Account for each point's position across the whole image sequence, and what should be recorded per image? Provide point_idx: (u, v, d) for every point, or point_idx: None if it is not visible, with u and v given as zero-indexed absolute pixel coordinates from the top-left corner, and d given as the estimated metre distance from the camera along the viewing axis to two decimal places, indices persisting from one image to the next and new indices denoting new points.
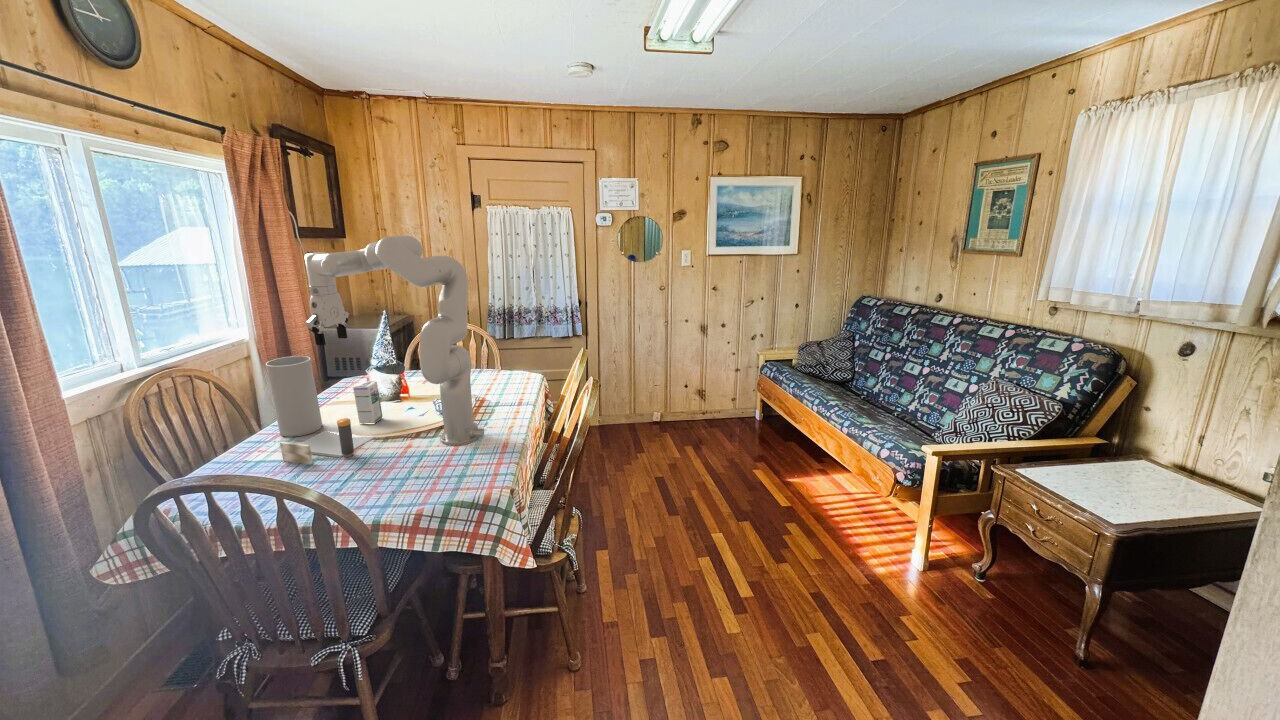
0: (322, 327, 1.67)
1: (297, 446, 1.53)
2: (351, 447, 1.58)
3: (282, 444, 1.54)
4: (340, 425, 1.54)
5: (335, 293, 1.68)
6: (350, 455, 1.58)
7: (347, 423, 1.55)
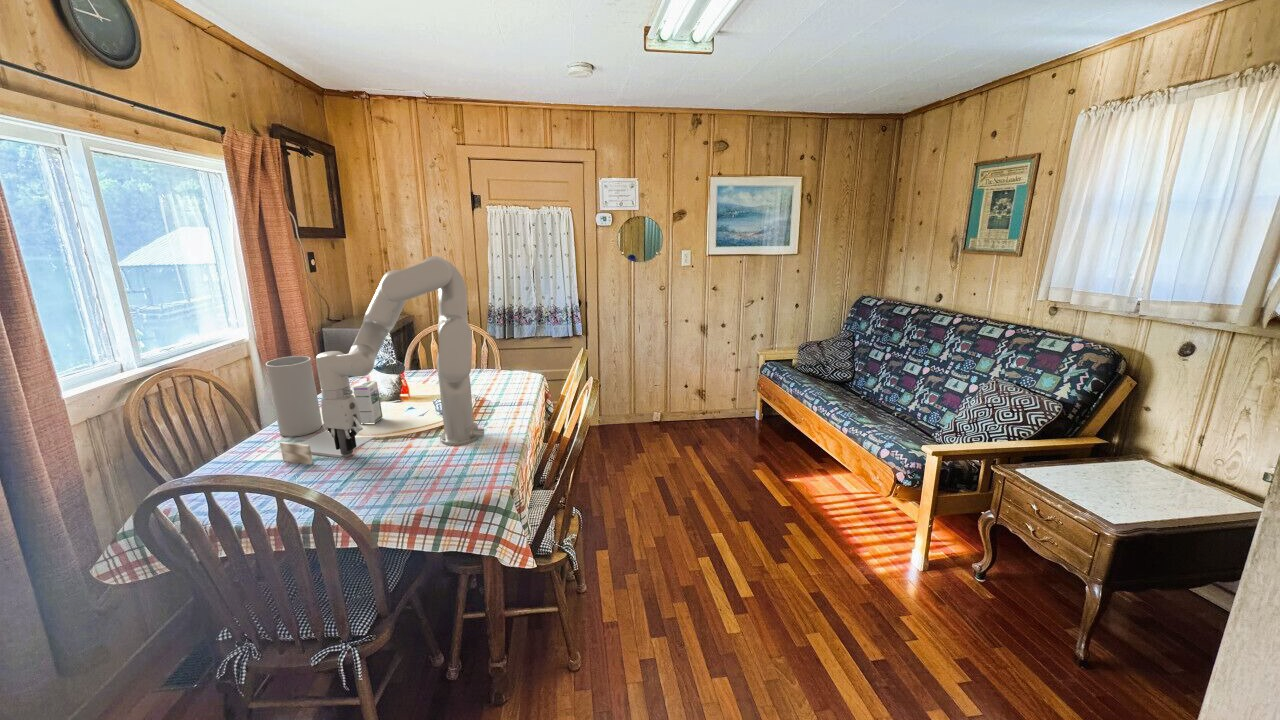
0: None
1: (297, 446, 1.53)
2: None
3: (282, 444, 1.54)
4: None
5: None
6: (349, 455, 1.58)
7: None
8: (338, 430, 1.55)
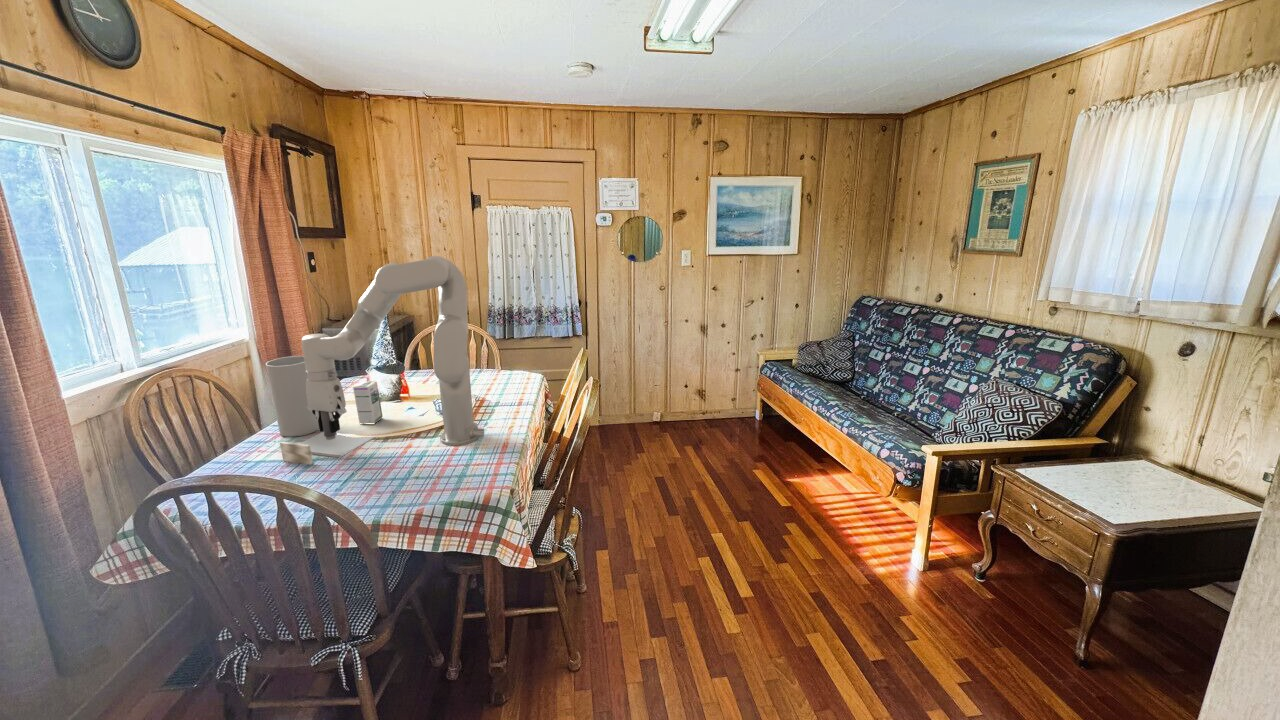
0: None
1: (297, 446, 1.53)
2: None
3: (282, 444, 1.54)
4: None
5: None
6: (332, 437, 1.60)
7: None
8: (322, 412, 1.57)
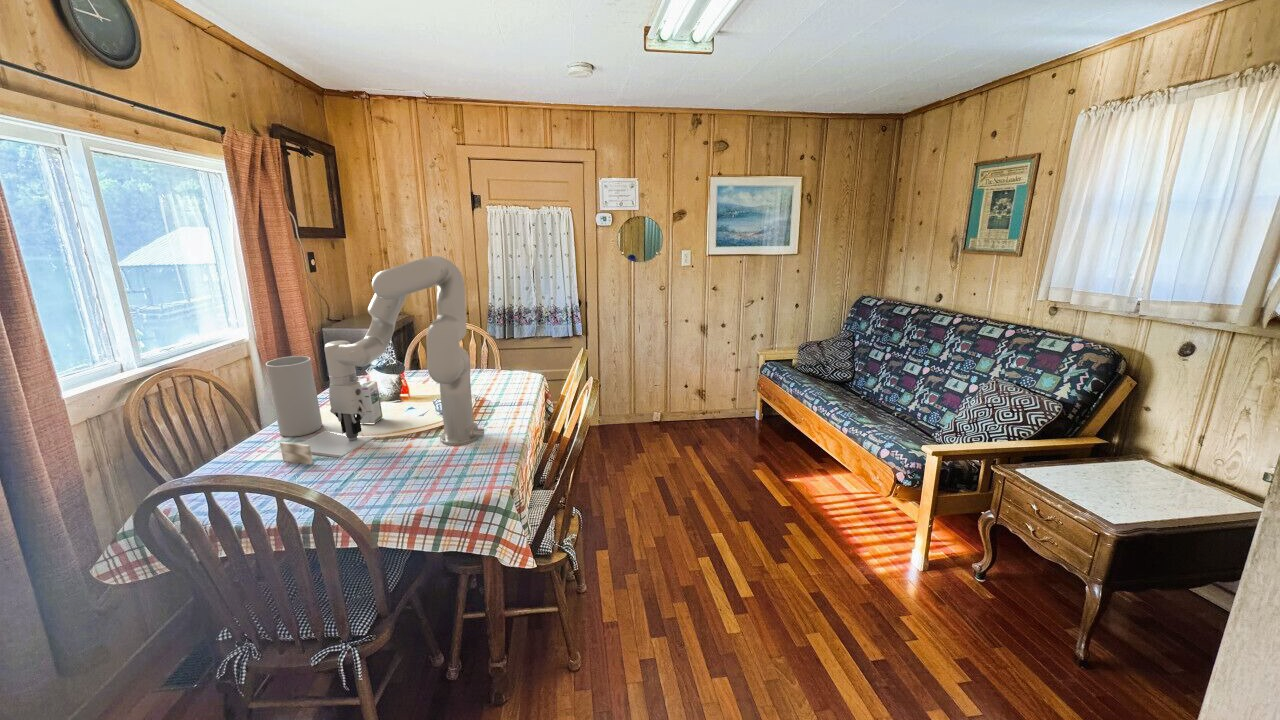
0: None
1: (297, 446, 1.53)
2: None
3: (282, 444, 1.54)
4: None
5: None
6: (355, 438, 1.69)
7: None
8: (344, 414, 1.66)
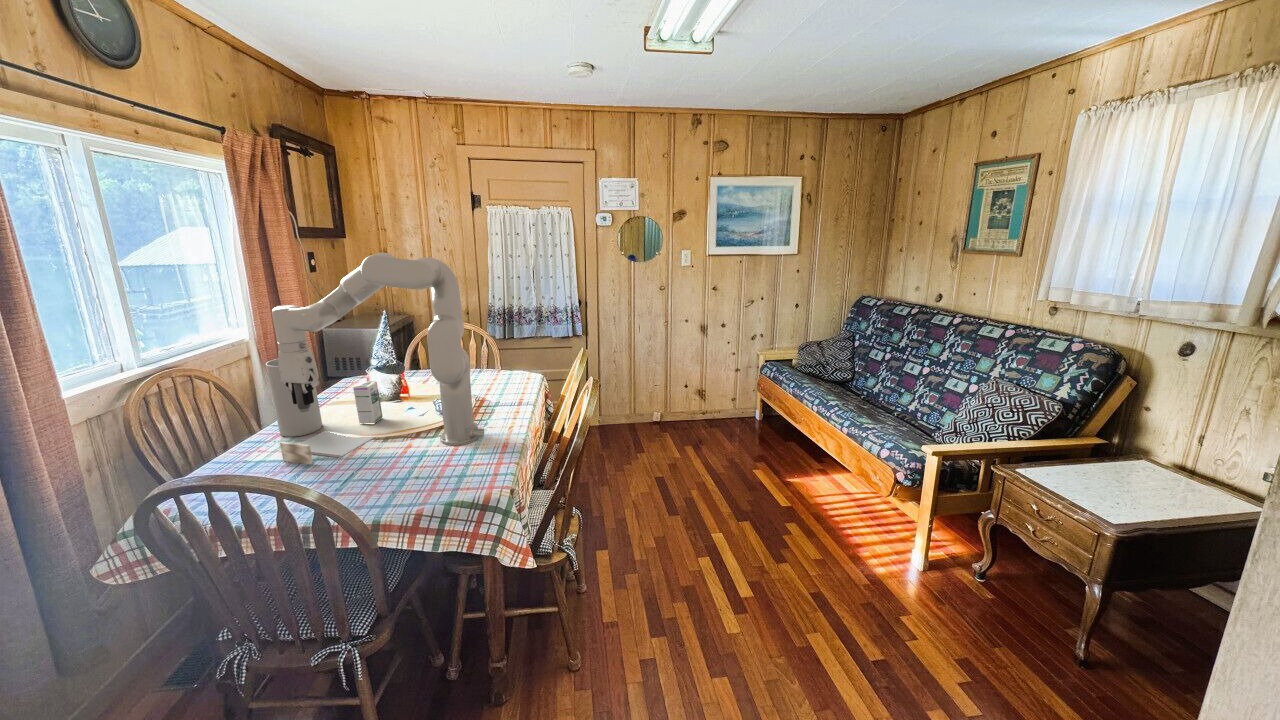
0: None
1: (297, 446, 1.53)
2: None
3: (282, 444, 1.54)
4: None
5: None
6: (306, 410, 1.60)
7: None
8: (295, 384, 1.57)
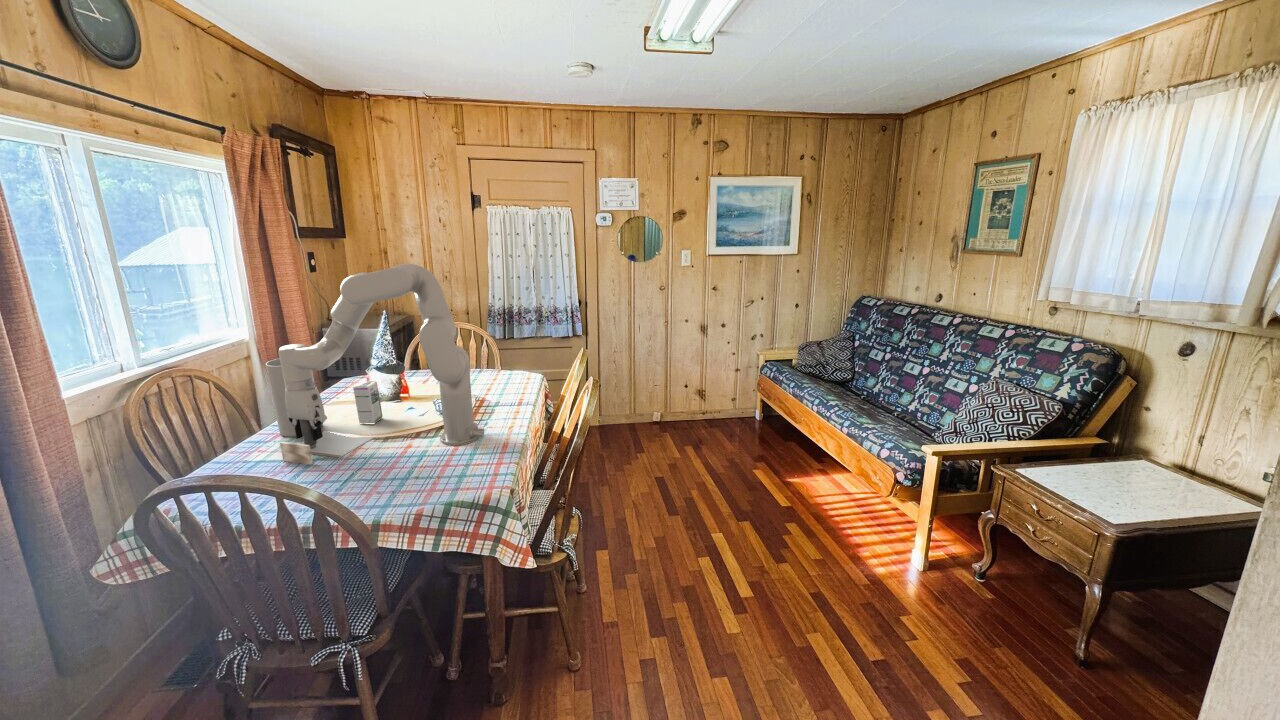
0: None
1: (297, 446, 1.53)
2: None
3: (282, 444, 1.54)
4: None
5: None
6: (313, 446, 1.63)
7: None
8: (301, 422, 1.60)
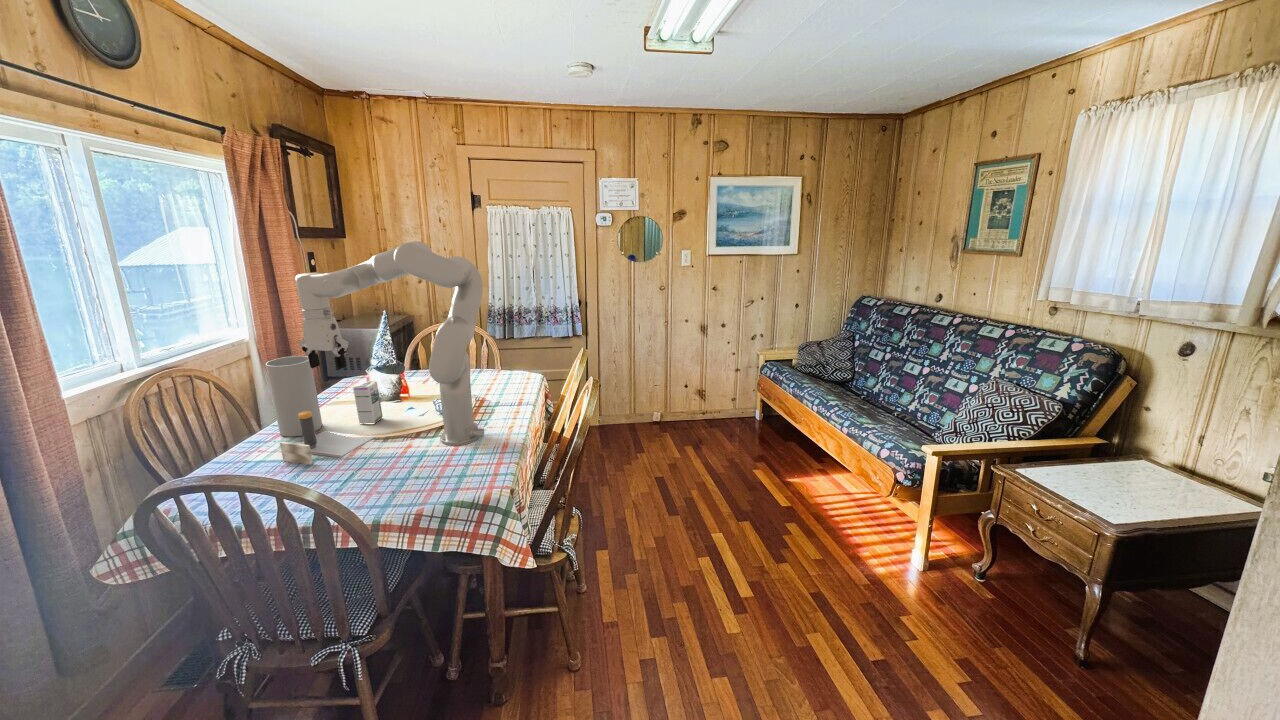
0: None
1: (297, 446, 1.53)
2: (313, 439, 1.63)
3: (282, 444, 1.54)
4: (301, 417, 1.59)
5: None
6: (313, 446, 1.63)
7: (308, 415, 1.60)
8: (301, 422, 1.60)
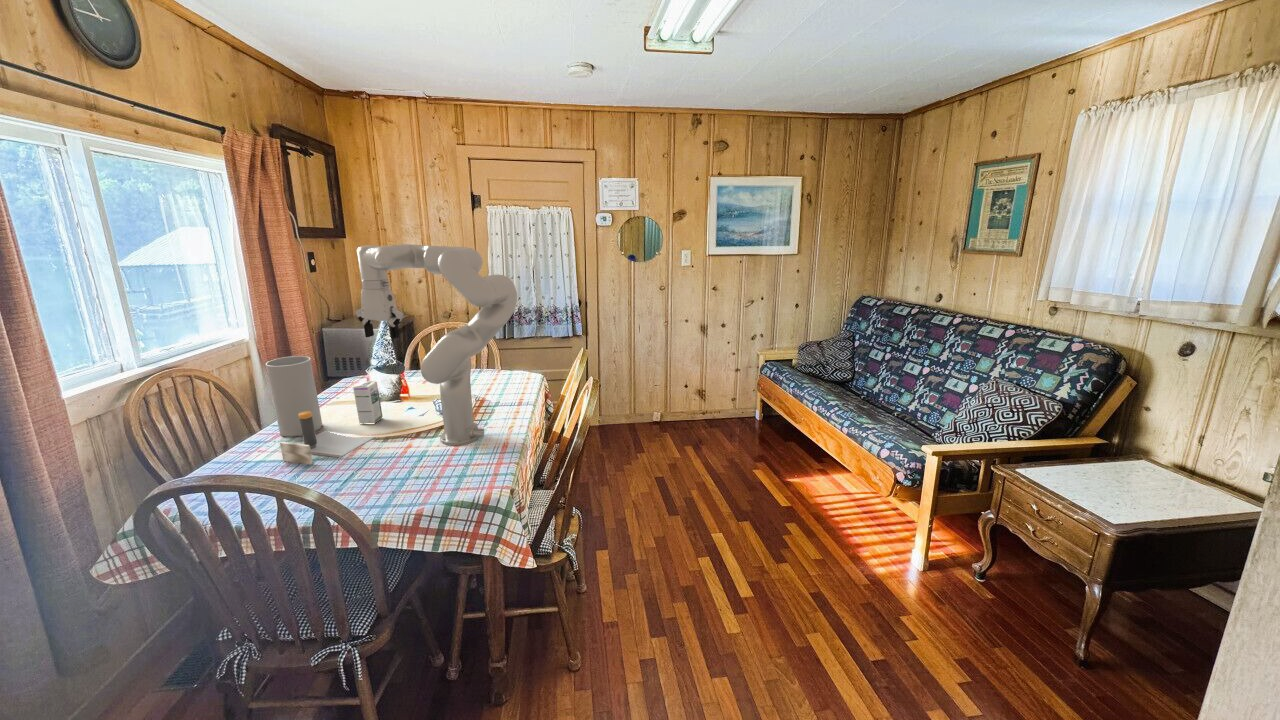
0: None
1: (297, 446, 1.53)
2: (313, 439, 1.63)
3: (282, 444, 1.54)
4: (301, 418, 1.59)
5: None
6: (313, 446, 1.63)
7: (308, 415, 1.60)
8: (301, 422, 1.60)
